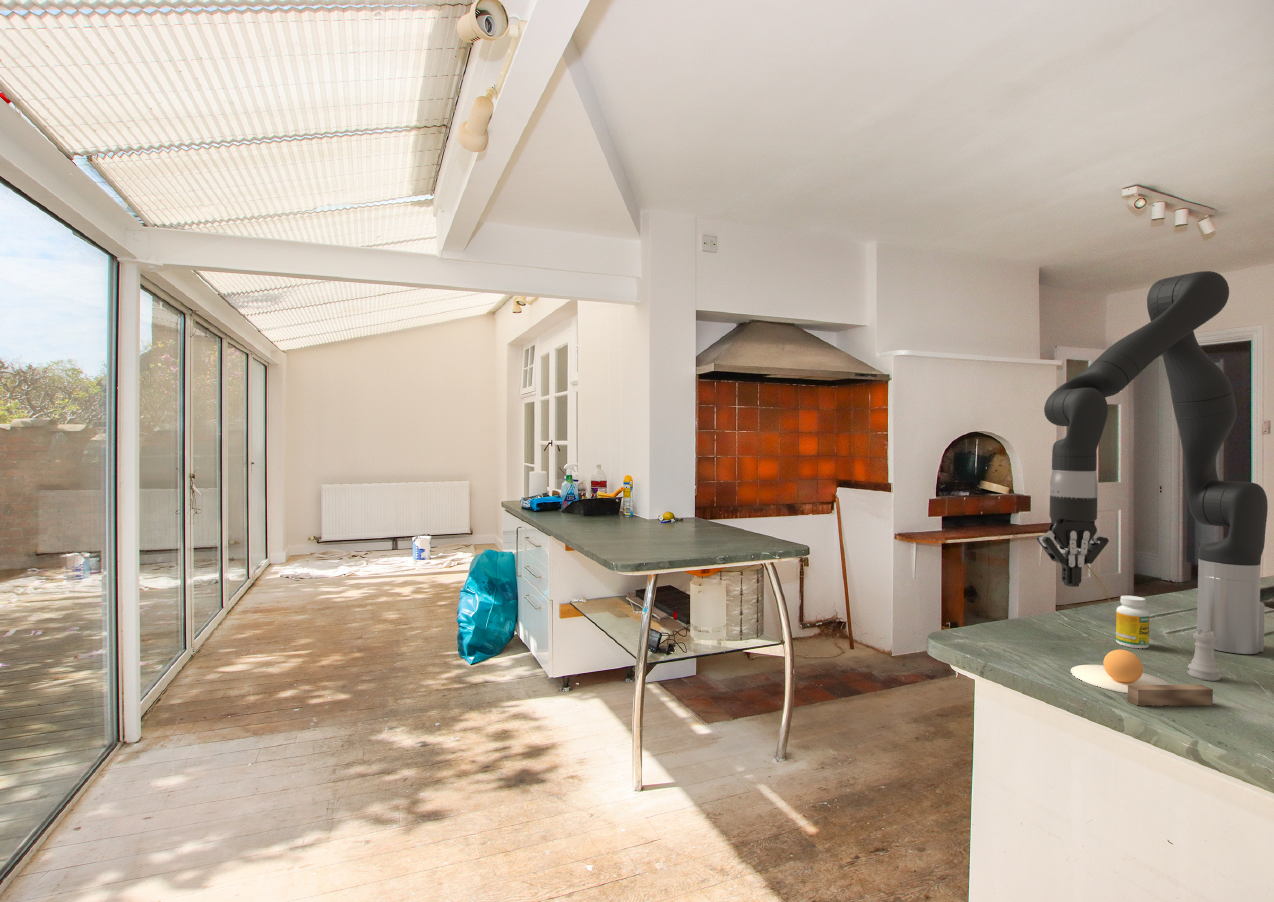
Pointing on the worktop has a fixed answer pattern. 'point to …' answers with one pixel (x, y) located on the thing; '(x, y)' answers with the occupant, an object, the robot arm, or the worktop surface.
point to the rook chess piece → (1204, 657)
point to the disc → (1102, 679)
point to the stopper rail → (1170, 695)
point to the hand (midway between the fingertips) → (1071, 585)
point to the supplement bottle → (1132, 623)
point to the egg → (1123, 666)
